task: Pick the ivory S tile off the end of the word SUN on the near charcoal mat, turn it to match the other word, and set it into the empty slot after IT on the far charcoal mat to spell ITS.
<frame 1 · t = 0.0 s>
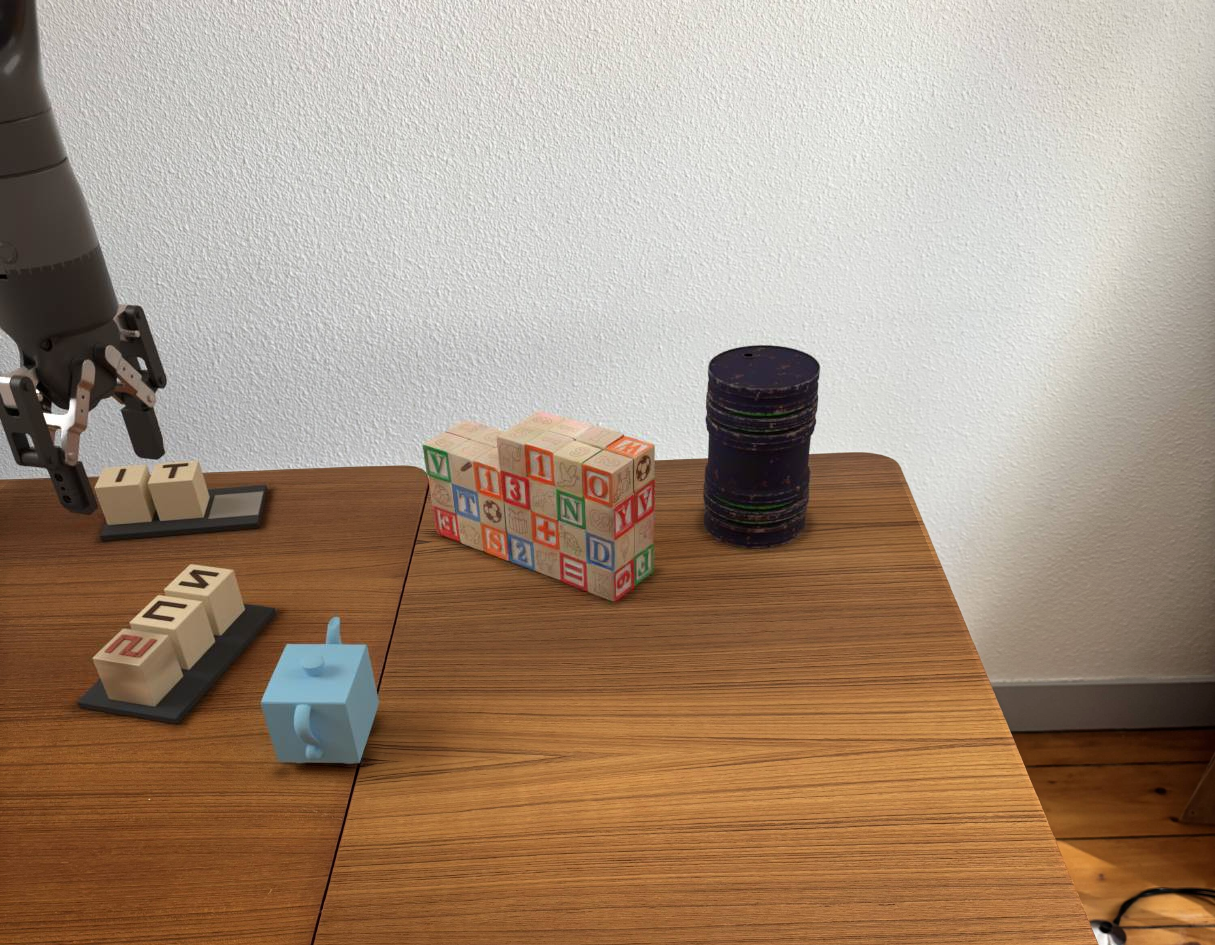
hand: (118, 483, 82), 16 cm above the table, tool pointing down, fingers open, 8 cm apart
teapot: (335, 735, 87), on the table
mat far: (187, 514, 113), on the table
stack of blocks: (542, 555, 105), on the table
tile s: (146, 687, 91), point 1 cm above the table, touching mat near
storage jar: (754, 524, 108), on the table
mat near: (182, 658, 95), on the table
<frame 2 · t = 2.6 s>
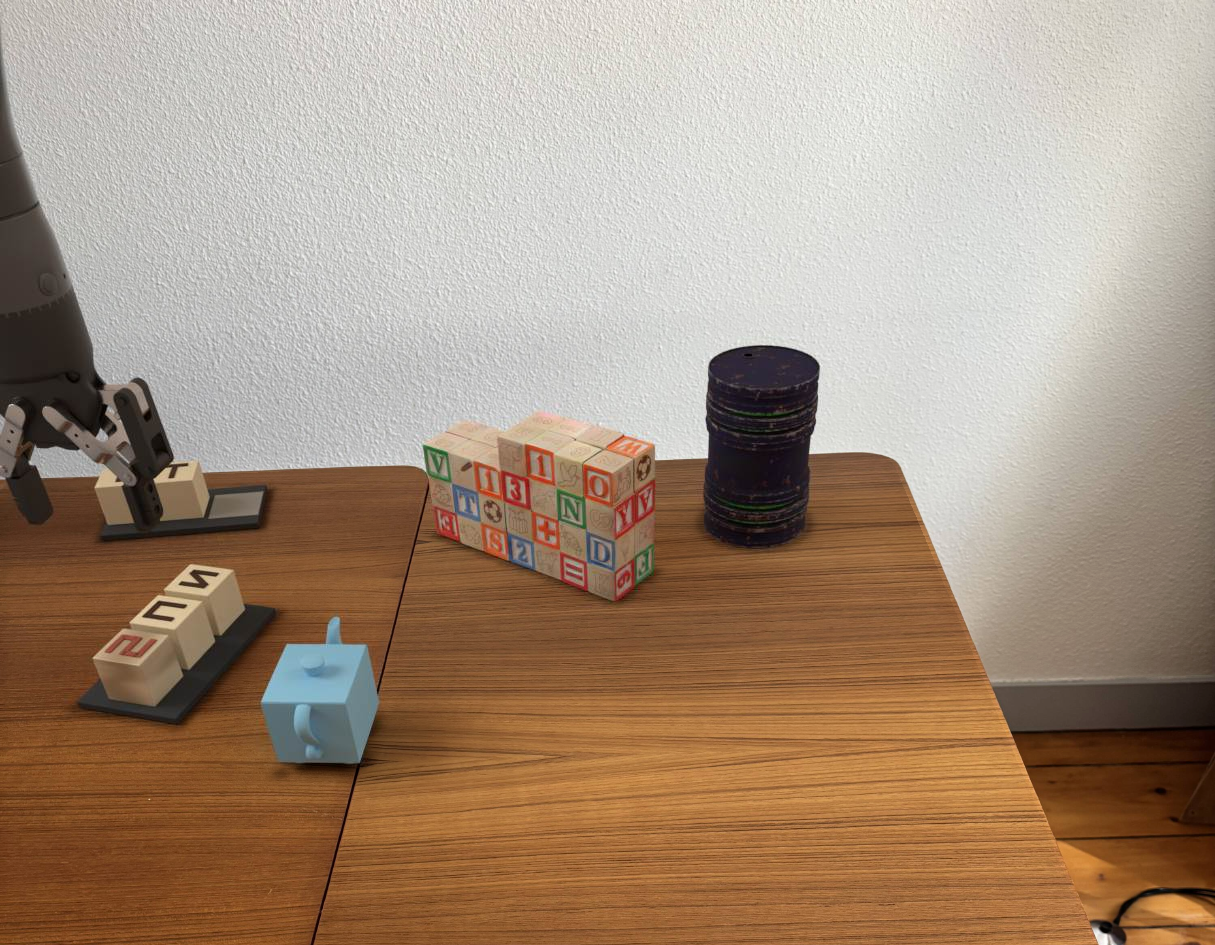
hand: (95, 523, 82), 15 cm above the table, tool pointing down, fingers open, 8 cm apart
nothing on the table moved.
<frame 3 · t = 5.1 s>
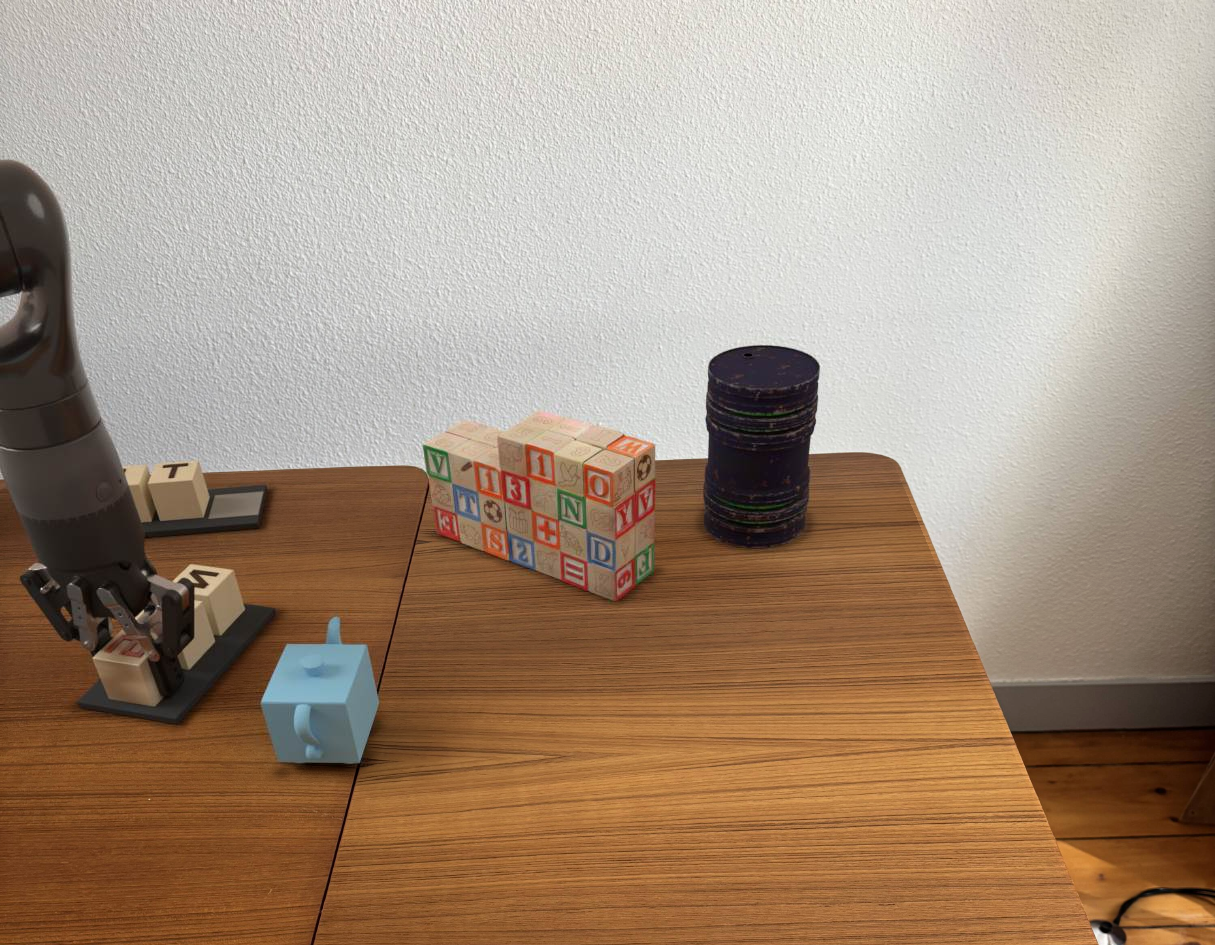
hand: (145, 685, 91), 1 cm above the table, tool pointing down, fingers closed on tile s, 4 cm apart
tile s: (146, 687, 91), point 1 cm above the table, touching gripper, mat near
everything else where it was.
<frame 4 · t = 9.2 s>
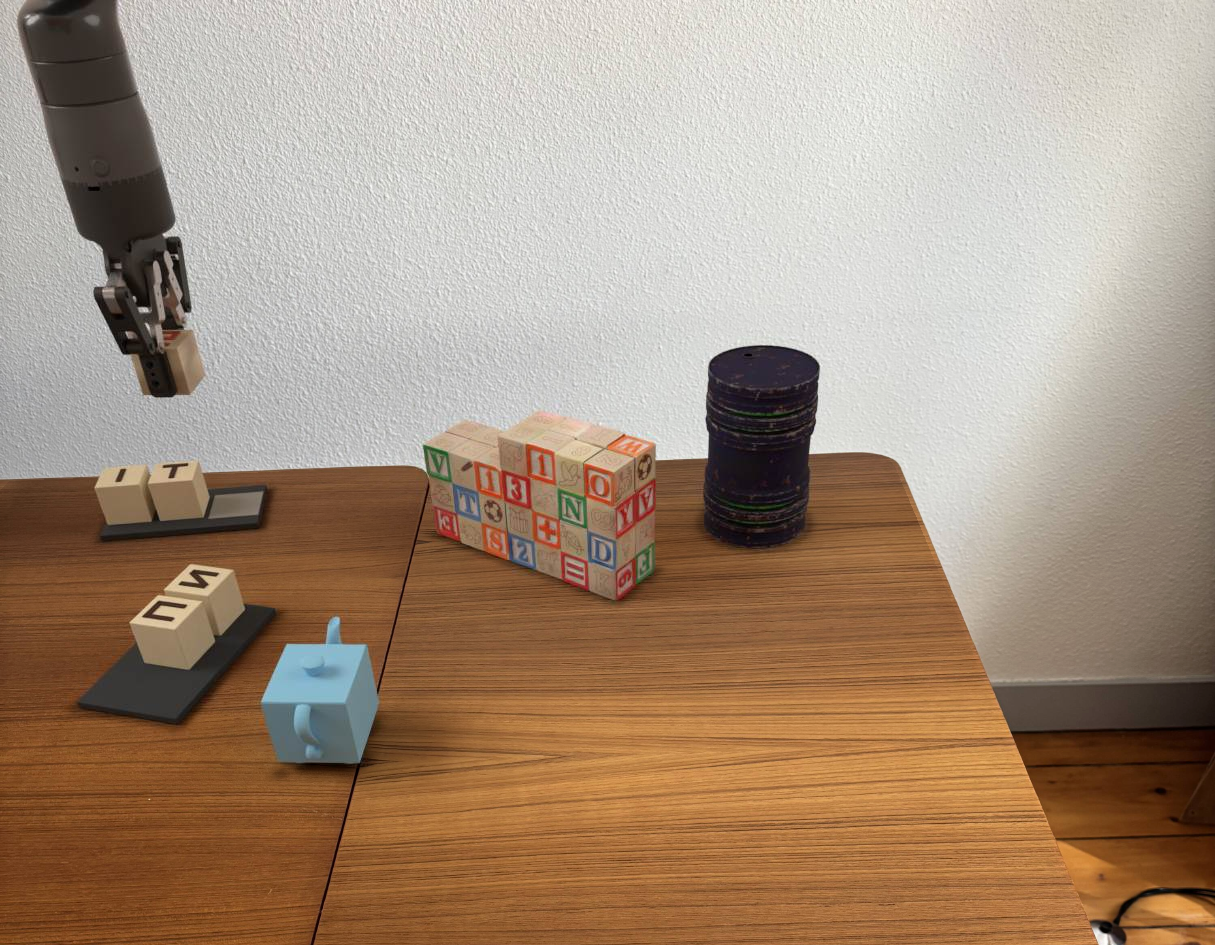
hand: (174, 383, 99), 15 cm above the table, tool pointing down, fingers closed on tile s, 4 cm apart
tile s: (174, 385, 99), point 15 cm above the table, touching gripper
everything else where it was.
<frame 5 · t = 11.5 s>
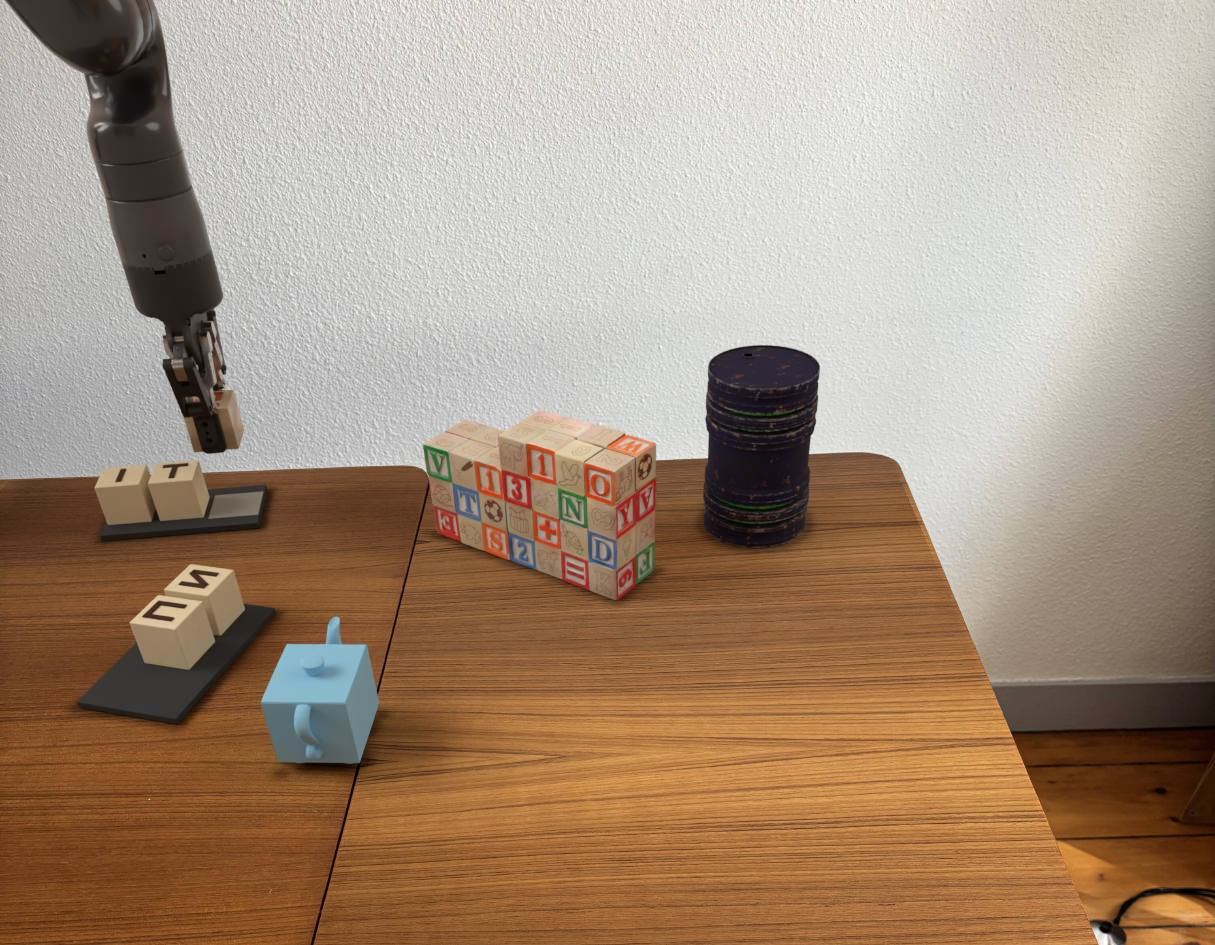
hand: (218, 439, 108), 7 cm above the table, tool pointing down, fingers closed on tile s, 4 cm apart
tile s: (219, 441, 108), point 7 cm above the table, touching gripper
everything else where it was.
when the fingers open (1 cm above the table, at t = 13.4 s): tile s stays where it is, resting on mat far.
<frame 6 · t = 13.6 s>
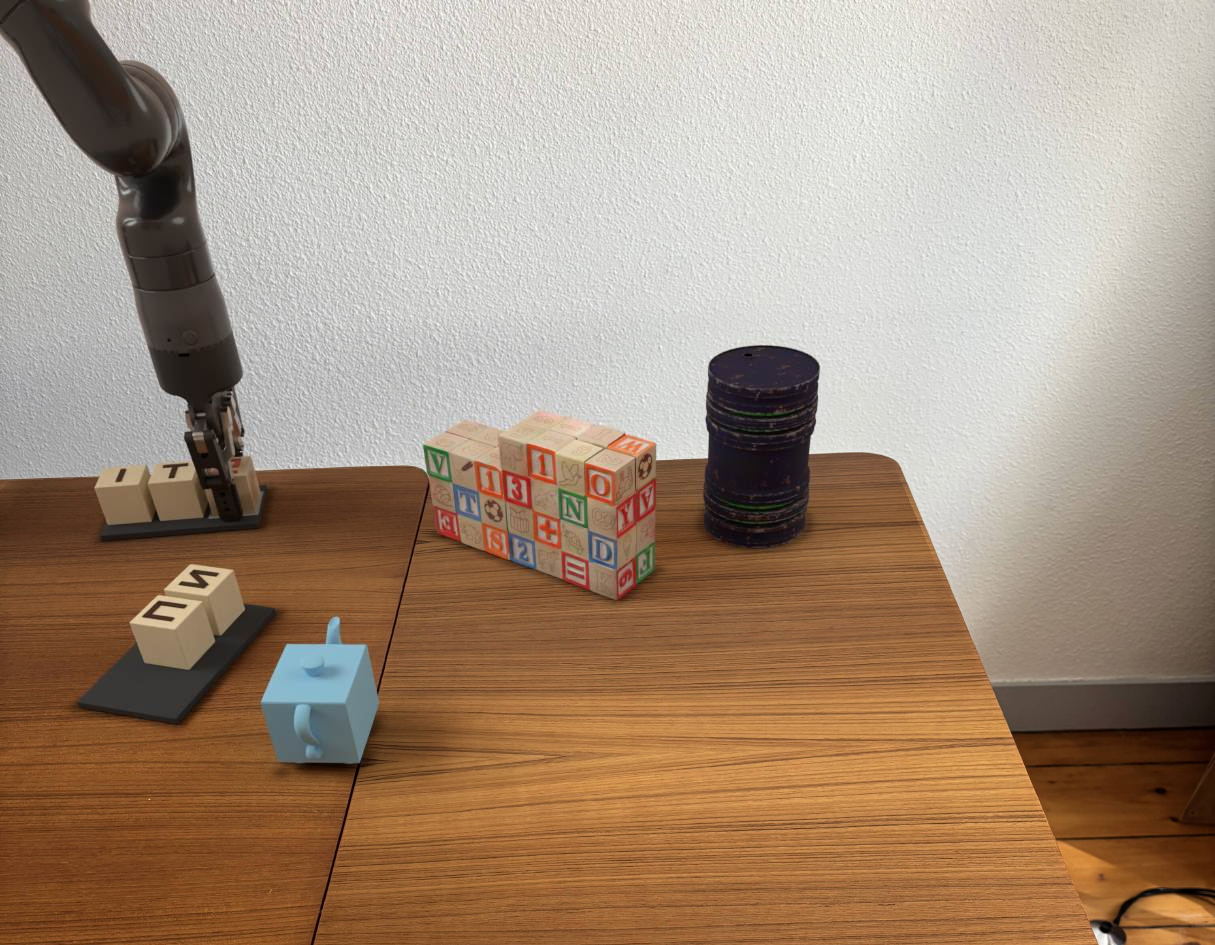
hand: (236, 503, 113), 1 cm above the table, tool pointing down, fingers open, 5 cm apart
tile s: (237, 504, 113), point 1 cm above the table, touching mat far
everything else where it was.
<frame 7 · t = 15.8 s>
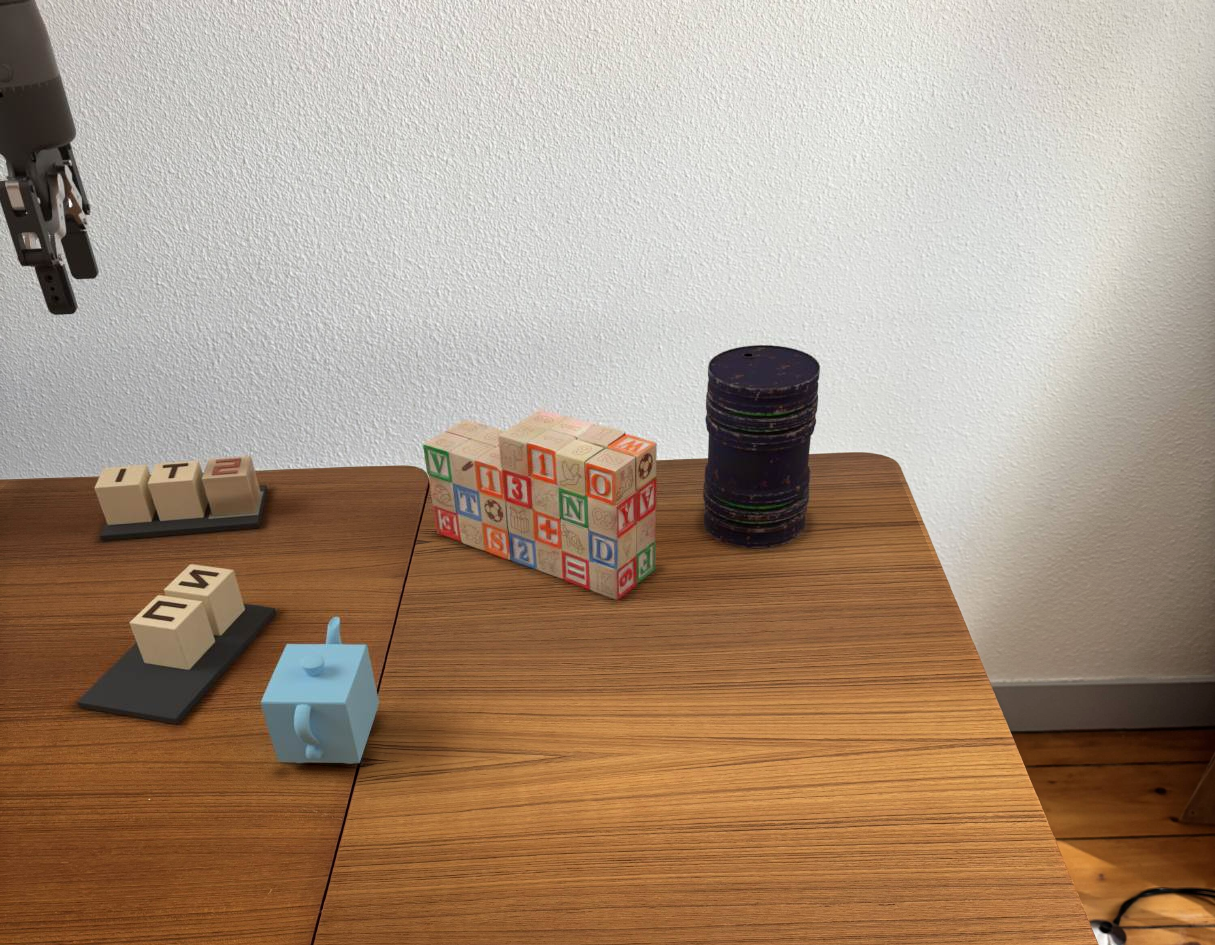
hand: (75, 294, 97), 22 cm above the table, tool pointing down, fingers open, 8 cm apart
nothing on the table moved.
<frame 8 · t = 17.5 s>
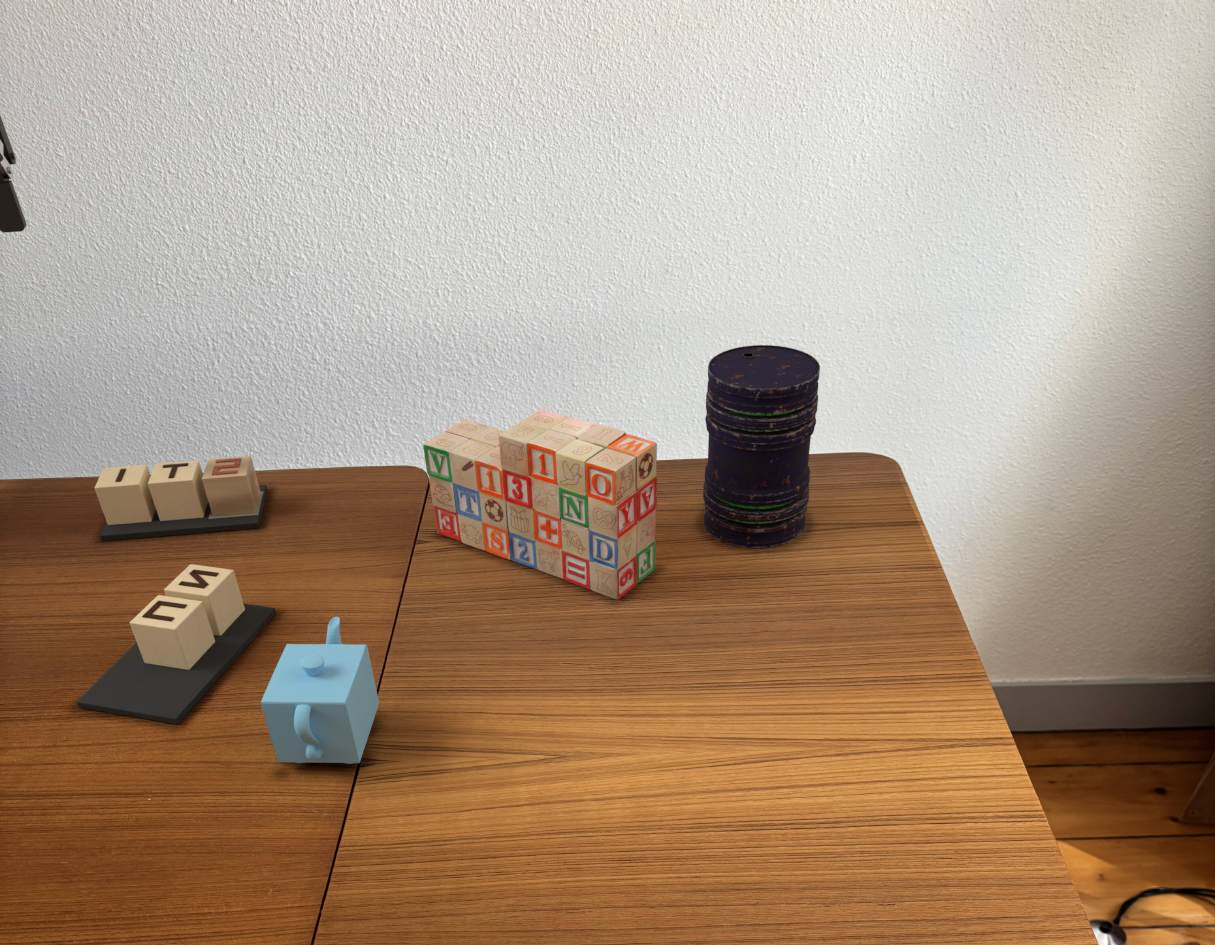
nothing on the table moved.
at the end: tile s 0.1 cm from the target spot on the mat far, point 0.6 cm above the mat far's base; tile s tilted 0°; the gripper is holding nothing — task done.
